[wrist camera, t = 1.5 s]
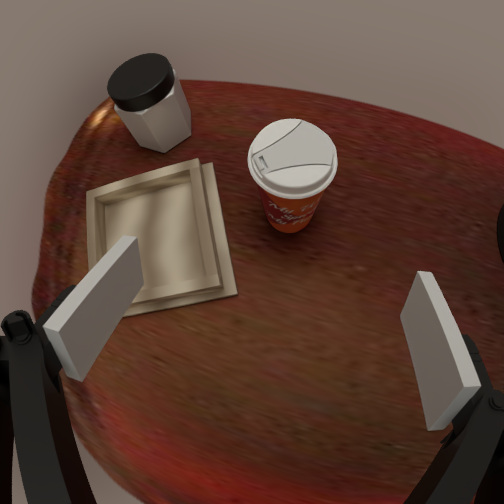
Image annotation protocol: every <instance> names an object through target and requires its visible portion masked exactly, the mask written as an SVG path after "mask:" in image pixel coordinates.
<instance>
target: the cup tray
mask: <svg viewBox="0 0 504 504" xmlns="http://www.w3.org/2000/svg"><path fill="white" fill-rule="evenodd" d="M123 235H125V236H134V237H137V239H138V246H139V253H140V260H141V267H142V273H143V280H144V285H143V286H142V288H141V289H140V291H139V292H138V294H137V295H136V297H135V298H134V300H133V301H132V303H131V304H130V306H129V308H128V309H127V311H126V312H125V314H124V315H123V317H127V316H132V315H138V314H143V313H149V312H154V311H159V310H164V309H170V308H175V307H180V306H185V305H190V304H195V303H200V302H205V301H210V300H215V299H220V298H225V297H229V296H234V295H238V291H237V286H236V281H235V276H234V271H233V266H232V261H231V255H230V250H229V245H228V240H227V235H226V230H225V224H224V219H223V214H222V209H221V203H220V198H219V193H218V187H217V182H216V176H215V171H214V166H213V163H208V164H204V165H201V164H200V162H199V159H198V158H197V159H193V160H190V161H186V162H182V163H178V164H175V165H171V166H167V167H164V168H160V169H157V170H153V171H150V172H146V173H143V174H140V175H136V176H133V177H130V178H127V179H124V180H120V181H117V182H114V183H111V184H108V185H105V186H102V187H99V188H96V189H93V190H90V191H87V245H88V263H89V272H90V270H91V269H92V268H93V267H94V266H95V265H96V264H97V263H98V262H99V261H100V260H101V258H102V257H103V256H104V255H105V254H106V253H107V252H108V251H109V250H110V249H111V248H112V247H113V246H114V245H115V244H116V243H117V242H118V240H119V239H120V238H121V237H122V236H123Z"/></svg>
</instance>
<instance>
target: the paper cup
mask: <svg viewBox="0 0 504 504" xmlns="http://www.w3.org/2000/svg"><path fill="white" fill-rule="evenodd" d="M248 166H249V170H250V172H251V175H252V177H253V178H254V180H255V181H256V182H257V185H258V189H259V193H260V196H261V200H262V203H263V207H264V210H265V213H266V216H267V219H268V221H269V223H270V224H271V225H272V226H273V227H274V228H275V229H277V230H278V231H281V232H284V233H295V232H298V231H300V230H302V229H303V228H305V227H306V226H307V225H308V223H309V222H310V220H311V218H312V216H313V214H314V212H315V210H316V208H317V205H318V203H319V201H320V199H321V196H322V194H323V192H324V190H325V188H326V187H327V186H328V185H329V184H330V182H331V181H332V180H333V178H334V176H335V173H336V169H337V155H336V148H335V146H334V144H333V142H332V141H331V139H330V138H329V136H328V135H327V134H326V133H324V132H323V131H322V130H321V129H319V128H318V127H316V126H315V125H313V124H311V123H308V122H306V121H303V120H300V119H284V120H279V121H276V122H273V123H271V124H269V125H268V126H266V127H265V128H264V129H263V130H261V131H260V133H259V134H258V135H257V137H256V138H255V139H254V141H253V143H252V144H251V146H250V149H249V153H248Z"/></svg>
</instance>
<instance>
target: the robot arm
mask: <svg viewBox="0 0 504 504" xmlns="http://www.w3.org/2000/svg"><path fill="white" fill-rule="evenodd" d="M497 235H498V243H499V248H500V252H501V256H502V259H503V261H504V205H503V206H502V208H501V211H500V213H499V217H498V225H497ZM143 285H144V280H143V273H142V267H141V260H140V253H139V246H138V239H137V237H134V236H125V235H123V236H122V237H121V238H120V239H119V240H118V242H117V243H116V244H115V245H114V246H113V247H112V248H111V249H110V250H109V251H108V252H107V253H106V254H105V255H104V256H103V257H102V258H101V260H100V261H99V262H98V263H97V264H96V265H95V266H94V267H93V268H92V269H91V270H90V272H89V273H88V274H87V275H86V276H85V277H84V278H83V279H82V281H81V282H80V283H79V284H78V285H77V286H76V285H71V286H70V287H68V288H66V289H65V290H63V291H62V292H61V293H60V295H59V296H58V297H57V298H56V300H54V301H53V303H52V304H51V306H49V307H48V308H47V309H46V311H45V312H44V313H43V314H42V315H41V317H40V318H39V319H38V320H37V321H36V323H35V324H33V322H32V319H31V317H30V315H29V313H27V312H26V311H23V310H18V311H14V312H12V313H10V314H9V315H7V316H6V317H5V318H4V319H3V321H2V323H1V328H2V330H3V332H4V334H5V335H6V336H0V504H12V460H13V459H12V458H13V443H14V437H15V444H16V450H17V455H18V461H19V467H20V472H21V477H22V481H23V486H24V490H25V494H26V498H27V501H28V504H97V503H96V500H95V498H94V495H93V493H92V490H91V487H90V485H89V482H88V479H87V476H86V473H85V470H84V467H83V464H82V461H81V458H80V455H79V451H78V448H77V445H76V441H75V437H74V434H73V430H72V426H71V422H70V418H69V414H68V410H67V406H66V401H65V397H64V392H63V387H62V382H61V378H60V375H59V371H60V370H61V368H62V367H63V369H64V371H65V373H66V375H67V376H68V377H71V378H73V379H76V380H79V381H83V380H84V378H85V376H86V375H87V373H88V371H89V370H90V368H91V366H92V365H93V363H94V361H95V360H96V358H97V356H98V355H99V353H100V352H101V350H102V348H103V347H104V345H105V343H106V342H107V340H108V339H109V337H110V336H111V334H112V332H113V331H114V329H115V328H116V326H117V324H118V323H119V321H120V320H121V318H122V317H123V315H124V314H125V312H126V311H127V309H128V308H129V306H130V304H131V303H132V301H133V300H134V298H135V297H136V295H137V294H138V292H139V291H140V289H141V288H142V286H143ZM400 318H401V322H402V325H403V329H404V332H405V336H406V339H407V343H408V346H409V350H410V354H411V358H412V362H413V366H414V370H415V374H416V378H417V382H418V387H419V391H420V395H421V400H422V405H423V410H424V415H425V420H426V425H427V430H428V431H430V430H442V429H445V428H446V427H447V426H448V424H449V423H450V422H451V421H452V424H453V428H454V429H453V430H452V431H451V432H450V433H449V434H448V435H447V436H446V437H445V438H444V439H443V440H442V441H441V442H440V443H441V444H442V443H443V442H444V444H443V445H442V447H441V449H440V450H439V452H438V454H437V455H436V457H435V458H434V460H433V462H432V463H431V465H430V466H429V468H428V469H427V471H426V472H425V474H424V475H423V477H422V478H421V480H420V481H419V483H418V484H417V486H416V487H415V488H414V490H413V491H412V493H411V494H410V495H409V497H408V498H407V499H406V501H405V502H404V503H403V504H470V502H471V500H472V499H473V497H474V495H475V493H476V491H477V493H476V497H475V501H474V504H504V394H503V393H501V392H500V391H498V390H494V389H493V386H492V384H491V381H490V379H489V376H488V373H487V371H486V368H485V366H484V363H482V359H481V356H480V355H479V351H478V349H477V347H476V345H475V343H474V342H473V340H472V339H471V338H470V337H469V336H468V335H462V334H461V333H460V331H459V329H458V326H457V324H456V322H455V320H454V318H453V315H452V313H451V311H450V309H449V307H448V305H447V303H446V300H445V298H444V296H443V294H442V292H441V290H440V288H439V286H438V284H437V282H436V280H435V278H434V276H433V275H432V273H431V272H422V271H417V274H416V277H415V279H414V282H413V285H412V287H411V290H410V293H409V295H408V298H407V300H406V303H405V305H404V308H403V310H402V313H401V315H400ZM477 489H478V490H477Z"/></svg>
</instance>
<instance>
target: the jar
mask: <svg viewBox="0 0 504 504" xmlns="http://www.w3.org/2000/svg"><path fill="white" fill-rule="evenodd" d="M107 90H108V94H109V95H110V97H111V98H112V100H113V101H114V103H115V107H114V109H115V111H116V112H117V114H118V115H119V117H120V118H121V119H122V121H123V122H124V124H125V125H126V127H127V128H128V130H129V131H130V132H131V134H132V135H133V137H134V138H135V140H136V141H137V142H138V144H139V145H140V146H142V147H145V148H149V149H152V150H155V151H159V152H162V153H166V152H167V151H169V150H170V149H172V148H173V147H174V146H176V145H177V144H179V143H180V142H182V141H183V140H185V139H186V138H188V137H189V136H191V111H190V108H189V105H188V103H187V100H186V98H185V95H184V93H183V90H182V87H181V85H180V82H179V80H178V77H177V74H176V72H175V70H174V69H172V67H171V64H170V63H169V61H168V59H167V58H166V57H164V56H162V55H160V54H156V53H148V54H142V55H139V56H136V57H134V58H131V59H130V60H128V61H126V62H125V63H123V64H122V65H121V66H119V67H118V68H117V69H116V70H115V71H114V73H113V74H112V75H111V77H110V79H109V81H108V85H107Z"/></svg>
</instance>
